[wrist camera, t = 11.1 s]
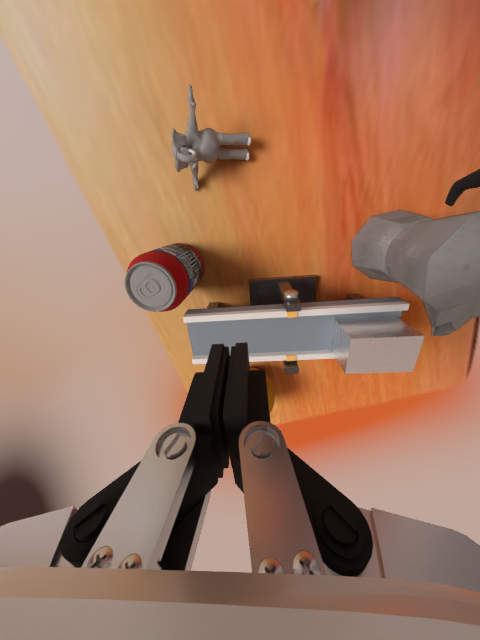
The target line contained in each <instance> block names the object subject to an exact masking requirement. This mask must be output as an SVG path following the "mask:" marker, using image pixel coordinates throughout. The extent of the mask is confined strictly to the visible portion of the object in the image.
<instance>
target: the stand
mask: <svg viewBox="0 0 480 640" xmlns="http://www.w3.org/2000/svg"><path fill="white" fill-rule="evenodd" d="M249 286H250V301H251V306H257V305H274V304H284V307H285V309H286V312H295V311H301V303H307V302H315V290H316V276H315V275H305V276H290V277H275V278H260V279H249ZM356 299H364V298H362V297H361V296H360V295H358V294H349V295H347V298H346V300H356ZM207 308H220V304H219V302H213V303H209V305H208V307H207ZM283 363H284V370H285V373H286V374H293V373H299V368H298V364H297V361H286V360H283Z"/></svg>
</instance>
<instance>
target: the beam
mask: <svg viewBox="0 0 480 640" xmlns="http://www.w3.org/2000/svg"><path fill="white" fill-rule="evenodd" d="M409 305H410V304H409V303H407V302H405V301H404V300H402V299H400V298H398V297H389V298H373V299H356V300H340V301H323V302H307V303H301V311H295V312H286V309H285V307H284V304H274V305H257V306H240V307H224V308H207V309H191V310H187V312H186V313H185V315H184V316H183V320H184V323H187V328H188V332H189V337H190V342H191V347H192V351H193V358H192V362H193V364H206V363H207V360H208V356H209V353H210V349H211V346H212V344H224V346H225V347H227V346H228V347H229V353H230V354H231V347H232V346H236V343H245V342H247V343H248V353H249V362H258V361H283V360H286V361H296V360H307V359H331V358H335V356H334V355H333V353H332V352H331V350H330V342H331V334H332V325H333V318H340V317H361V316H382V315H395V316H396V317H398V318H399V319H401V315H402V311H407V310H408V309H409Z"/></svg>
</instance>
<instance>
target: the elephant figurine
mask: <svg viewBox="0 0 480 640" xmlns="http://www.w3.org/2000/svg"><path fill="white" fill-rule="evenodd" d="M188 102H189V105H190V116H189V121H188V128H187V131H186V133H185V135H183V134H180V133H178V132H176V131H175V129H172V152H173V156H174V158H175V167H176V170H177V171H178V172H179V171H180V170H181V169H183V168H186V167H188V164H190V168H191V171H192V174H193V184H194V189H195V191H197V190H196V187H197V188H199V187H198V177H197V173H198V162H199V161H204V162H206V163H212V162H214V161H216V160H217V159H221V160H226V159H239V160H249V152H248V150H247V149H224V148H220V146H221V145H249V146H250V144H251V137H250V135H249V133H239V134H226V133H217V132H216V131H214V130H213V129H211V128H206V129H204V130H201V131H198V129H197V122H196V116H195V106H196V103H195V101H194V98H193V94H192V86H191V85H189V93H188Z"/></svg>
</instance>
